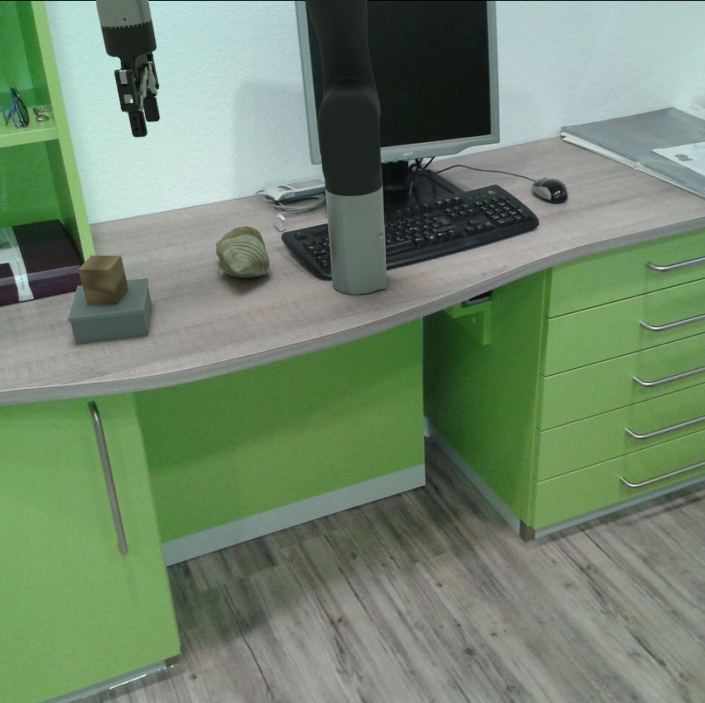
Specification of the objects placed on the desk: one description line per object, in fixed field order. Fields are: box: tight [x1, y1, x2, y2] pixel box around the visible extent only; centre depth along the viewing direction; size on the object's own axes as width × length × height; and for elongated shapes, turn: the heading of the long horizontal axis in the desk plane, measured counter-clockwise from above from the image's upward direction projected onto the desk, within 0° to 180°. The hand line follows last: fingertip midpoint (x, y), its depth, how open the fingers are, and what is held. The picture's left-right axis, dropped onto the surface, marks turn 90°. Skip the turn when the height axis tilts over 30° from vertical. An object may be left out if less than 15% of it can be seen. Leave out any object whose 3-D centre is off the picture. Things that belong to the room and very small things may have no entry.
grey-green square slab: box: [67, 277, 152, 345], centre depth 133 cm, size 11×11×5 cm
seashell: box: [215, 226, 270, 279], centre depth 146 cm, size 14×9×10 cm
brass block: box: [77, 254, 129, 304], centre depth 130 cm, size 5×5×6 cm
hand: (147, 128), depth 131 cm, fingers open, 8 cm apart
